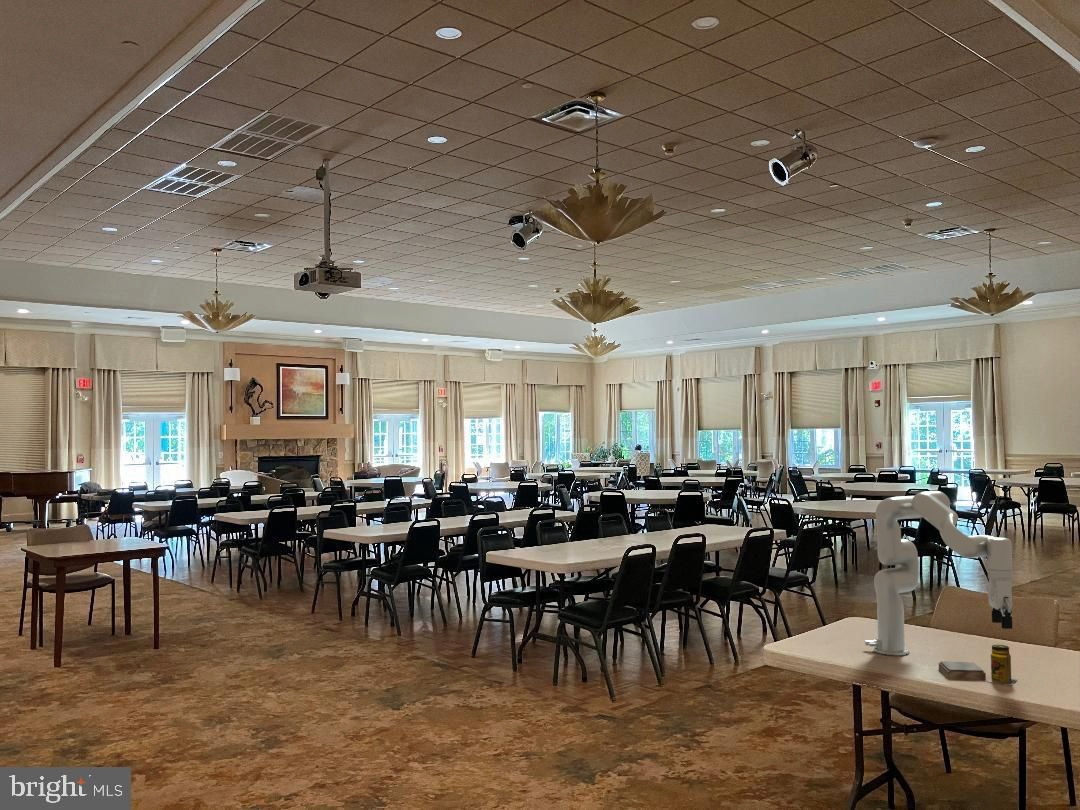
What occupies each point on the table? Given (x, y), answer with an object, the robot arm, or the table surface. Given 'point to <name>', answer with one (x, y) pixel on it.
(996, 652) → the condiment
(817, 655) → the table surface
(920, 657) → the table surface
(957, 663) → the pedestal
